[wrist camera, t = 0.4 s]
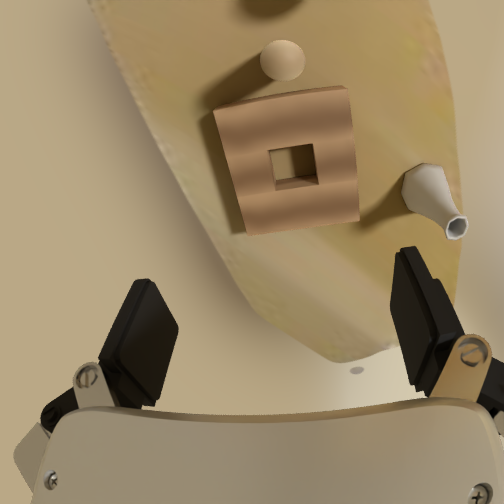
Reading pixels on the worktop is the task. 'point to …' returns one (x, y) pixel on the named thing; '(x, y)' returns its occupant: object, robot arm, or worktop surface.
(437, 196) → the flask
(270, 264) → the worktop surface
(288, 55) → the peg
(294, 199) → the board
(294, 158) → the worktop surface
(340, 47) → the worktop surface
